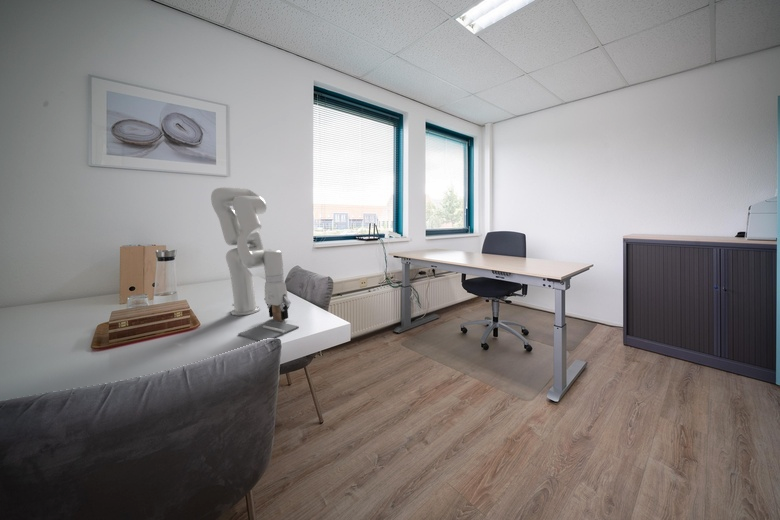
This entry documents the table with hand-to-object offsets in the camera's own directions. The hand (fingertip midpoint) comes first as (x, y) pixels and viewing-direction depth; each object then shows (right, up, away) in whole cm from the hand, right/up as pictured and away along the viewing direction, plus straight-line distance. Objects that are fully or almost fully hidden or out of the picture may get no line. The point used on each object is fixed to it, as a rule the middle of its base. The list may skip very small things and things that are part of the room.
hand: (278, 317), depth 130 cm
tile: (0, -1, 0) cm, 1 cm away
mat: (+1, -3, -13) cm, 14 cm away
